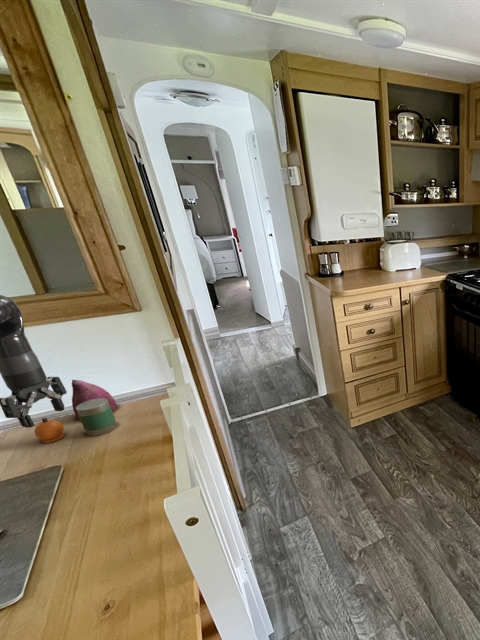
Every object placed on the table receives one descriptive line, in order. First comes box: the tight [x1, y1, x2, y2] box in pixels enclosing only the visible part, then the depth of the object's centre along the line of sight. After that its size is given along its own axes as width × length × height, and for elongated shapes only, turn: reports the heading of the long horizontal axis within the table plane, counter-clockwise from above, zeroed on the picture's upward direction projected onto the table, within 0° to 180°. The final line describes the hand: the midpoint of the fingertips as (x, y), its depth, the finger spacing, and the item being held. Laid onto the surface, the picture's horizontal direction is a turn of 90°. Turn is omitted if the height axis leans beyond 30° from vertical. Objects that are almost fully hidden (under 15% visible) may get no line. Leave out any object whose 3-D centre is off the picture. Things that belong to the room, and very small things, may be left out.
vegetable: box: [71, 379, 118, 421], centre depth 122 cm, size 10×10×15 cm
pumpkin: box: [34, 417, 65, 444], centre depth 110 cm, size 6×6×7 cm
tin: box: [76, 398, 118, 437], centre depth 115 cm, size 7×7×9 cm
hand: (45, 418), depth 109 cm, fingers open, 8 cm apart
